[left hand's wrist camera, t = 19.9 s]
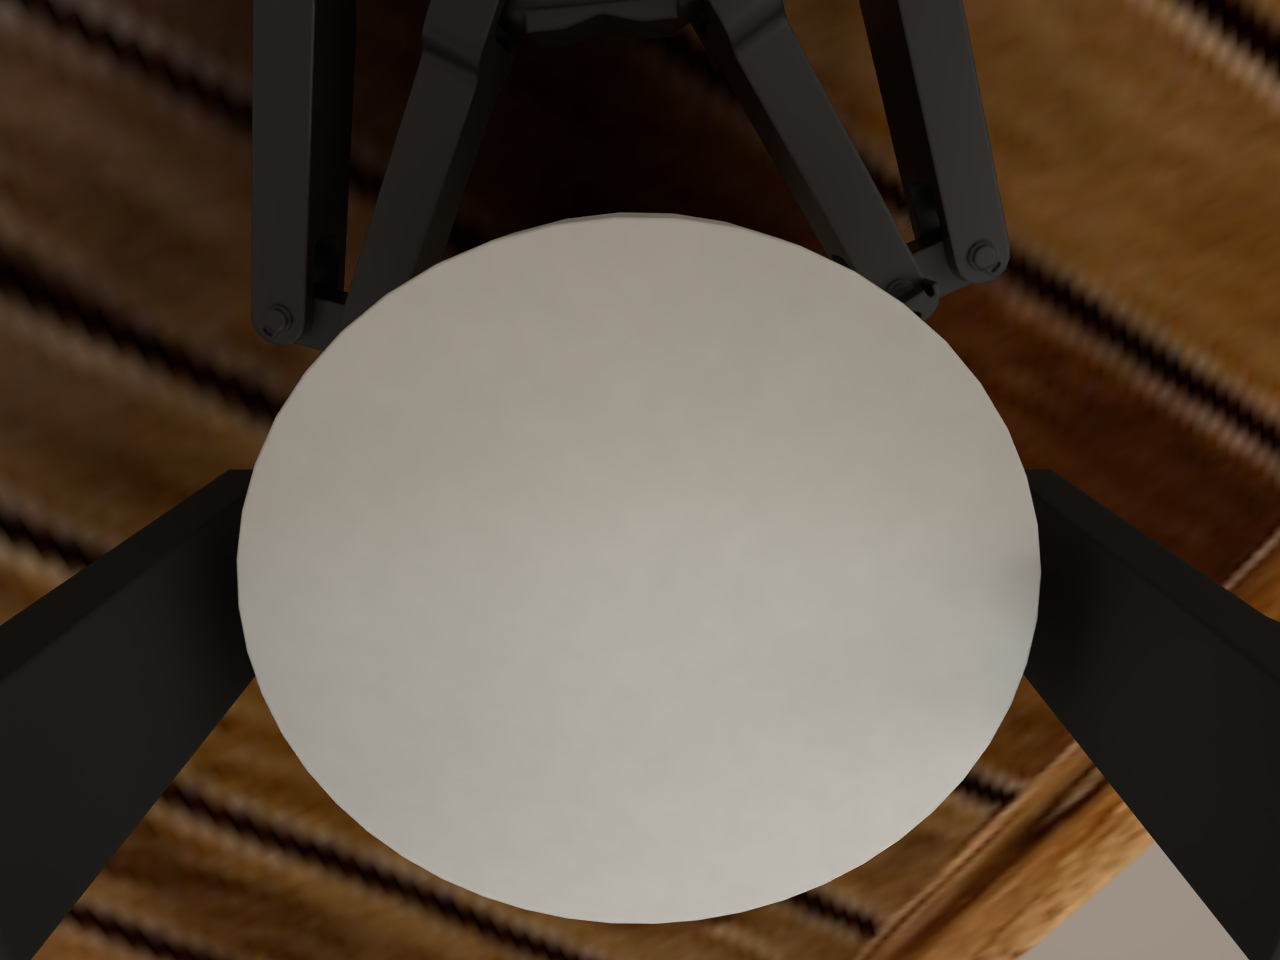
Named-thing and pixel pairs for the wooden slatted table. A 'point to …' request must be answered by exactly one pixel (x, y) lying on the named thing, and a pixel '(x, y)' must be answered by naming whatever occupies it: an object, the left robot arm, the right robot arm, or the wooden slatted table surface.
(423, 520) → the lid
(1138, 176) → the wooden slatted table surface
